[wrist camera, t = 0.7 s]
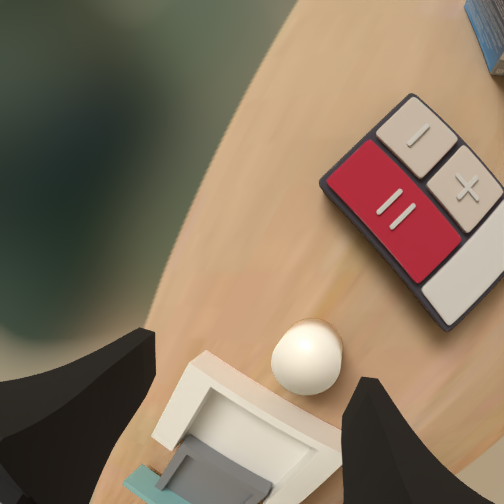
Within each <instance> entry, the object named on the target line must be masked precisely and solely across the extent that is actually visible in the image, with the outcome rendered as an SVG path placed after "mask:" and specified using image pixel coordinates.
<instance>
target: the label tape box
mask: <svg viewBox="0 0 504 504" xmlns="http://www.w3.org/2000/svg"><path fill="white" fill-rule="evenodd" d="M464 8H465V10H466V12H467V14H468V17H469V19H470V21H471V24H472V26H473V28H474V31H475V33H476V36H477V38H478V41H479V44H480V46H481V49H482V52H483V54H484V57H485V60H486V63H487V66H488V69H489V72H490V74H493V75H500V76H504V0H466V3H465V6H464Z"/></svg>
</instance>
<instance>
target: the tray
mask: <svg viewBox="0 0 504 504" xmlns="http://www.w3.org/2000/svg"><path fill="white" fill-rule="evenodd" d="M123 485H124V486H125V487H126V488H128V489H129V490H130V491H132V492H133V493H134V494H136V495H137V496H138V497H140V498H141V499H142V500H144V501H145V502H146V503H148V504H258V503H259V502H260V501H261V500H262V499H263V498H264V497H265V496H266V495H267V494H268V492H269V489H270V487H271V485H272V483H271V482H270V481H268V480H266V479H264V478H262V477H260V476H258V475H257V474H255V473H253V472H251V471H249V470H248V469H246V468H244V467H242V466H241V465H239V464H237V463H236V462H234V461H232V460H231V459H229V458H227V457H226V456H224V455H222V454H221V453H219V452H218V451H216V450H214V449H213V448H211V447H210V446H208V445H207V444H205V443H204V442H202V441H201V440H199V439H198V438H196V437H195V436H193V435H192V434H190V435H189V436H188V437H187V438H186V440H185V441H184V442H183V443H182V444H181V446H180V447H179V449H178V450H177V452H176V453H175V455H174V457H173V458H172V460H171V461H170V463H169V464H168V466H167V468H166V469H165V471H164V472H163V474H162V475H161V477H160V476H158V475H157V474H156V473H154V472H153V471H151V470H150V469H149V468H147V467H146V466H145V465H143V464H142V465H141V466H140V467H139V468H137V469H136V470H135V471H134V472H133V473H132V474H131V475H130V476H129V477H128V478H126V479H125V480H124V482H123Z"/></svg>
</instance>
